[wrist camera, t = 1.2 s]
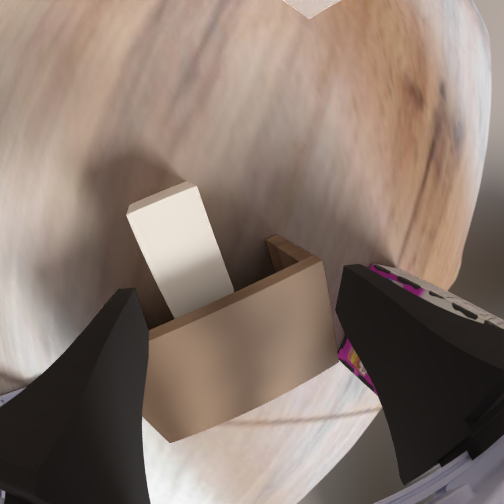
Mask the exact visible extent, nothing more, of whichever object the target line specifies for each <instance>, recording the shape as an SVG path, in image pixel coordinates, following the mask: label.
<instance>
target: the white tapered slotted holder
mask: <svg viewBox="0 0 504 504" xmlns="http://www.w3.org/2000/svg"><path fill="white" fill-rule="evenodd" d="M282 1H284V2H285V3H287V4H288V5H290V6H291V7H293V8H294V9H296V10H297V11H298V12H300V13H301V14H303V15H304V16H305V17H307V18H308V19H310V18H312V17H313V16H315V15H317V14H318V13H320V12H322V11H323V10H325V9H327V8H328V7H330V6H332V5H333V4H335V3H337V2H339V1H340V0H282Z"/></svg>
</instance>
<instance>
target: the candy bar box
mask: <svg viewBox="0 0 504 504" xmlns="http://www.w3.org/2000/svg"><path fill="white" fill-rule="evenodd" d="M370 270H372V271H374V272H376V273H378V274H380V275H381V276H383V277H385V278H387V279H388V280H390V281H392V282H394V283H396V284H397V285H399V286H401V287H403V288H404V289H406V290H408V291H410V292H412V293H413V294H415V295H417V296H419V297H421V298H423V299H425V300H427V301H429V302H431V303H432V304H435V305H437V306H439V307H441V308H443V309H446V310H448V311H450V312H452V313H455V314H457V315H460V316H462V317H465V318H468V319H471V320H474V321H477V322H480V323H483V324H486V325H490V326H494V327H498V328H502V329H504V320H502V319H500V318H498V317H496V316H494V315H492V314H490V313H489V312H487V311H485V310H483V309H481V308H479V307H477V306H475V305H473V304H471V303H469V302H467V301H465V300H463V299H461V298H459V297H458V296H456V295H454V294H452V293H450V292H448V291H446V290H444V289H441V288H439V287H437V286H435V285H433V284H431V283H429V282H427V281H425V280H423V279H421V278H419V277H417V276H414V275H412V274H410V273H408V272H406V271H403V270H401V269H399V268H394V267H388V266H383V265H378V264H371V266H370ZM338 360H340V361H341V362H342V363H343V364H344V365H345V366H346V367H347V368H348V369H349V370H350V371H351V372H353V373H354V374H355V375H356V376H357V377H358V378H359V379H360V380H361V381H362V382H363V383H364V384H365V385H367V386H368V387H369V388H370V389H371V390H372V391H373V392H374V393H375V394H376V395H377V392H376V389H375V387H374V385H373V383H372V381H371V379H370V377H369V375H368V373H367V372H366V370H365V368H364V366H363V364H362V363H361V361H360V359H359V357H358V356H357V354H356V352H355V350H354V349H353V347H352V345H351V343H350V342H349V340H348V338H347V336H345V338H344V341H343V343H342V346H341V348H340V351H339V353H338ZM377 396H378V395H377Z"/></svg>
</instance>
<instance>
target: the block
mask: <svg viewBox="0 0 504 504" xmlns="http://www.w3.org/2000/svg"><path fill="white" fill-rule="evenodd" d="M126 216H127V218H128V221H129V223H130V225H131V228H132V230H133V233H134V235H135V237H136V239H137V242H138V244H139V246H140V249H141V251H142V253H143V255H144V257H145V260H146V262H147V264H148V266H149V268H150V270H151V272H152V275H153V277H154V279H155V281H156V283H157V285H158V287H159V289H160V291H161V293H162V295H163V297H164V299H165V301H166V303H167V305H168V307H169V309H170V311H171V313H172V315H173V316H174V318H175V319H176V318H178V317H181V316H183V315H185V314H187V313H190V312H192V311H194V310H196V309H199V308H201V307H203V306H205V305H208V304H210V303H212V302H214V301H216V300H219V299H221V298H223V297H225V296H227V295H230V294H232V293H234V292H235V291H234V288H233V285H232V283H231V280H230V277H229V275H228V272H227V269H226V267H225V264H224V261H223V258H222V256H221V253H220V250H219V247H218V245H217V242H216V239H215V236H214V233H213V231H212V228H211V225H210V222H209V219H208V217H207V214H206V211H205V208H204V205H203V202H202V199H201V197H200V194H199V191H198V188H197V186H196V185H194V184H192V183H189V182H187V181H186V182H183V183H180V184H178V185H175V186H173V187H170V188H168V189H165V190H163V191H160V192H158V193H156V194H153V195H151V196H148V197H146V198H144V199H141V200H139V201H137V202H134V203H132V204H130V205H129V208H128V211H127V214H126Z"/></svg>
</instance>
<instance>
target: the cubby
mask: <svg viewBox="0 0 504 504" xmlns="http://www.w3.org/2000/svg"><path fill="white" fill-rule="evenodd" d="M265 240H266V244H267V247H268V250H269V254H270V257H271V261H272V264H273V268H274V271H275V274H273V275H270V276H268V277H266V278H264V279H262V280H260V281H258V282H256V283H253V284H251V285H249V286H247V287H245V288H243V289H240V290H238V291H236V292H234V293H232V294H230V295H227V296H225V297H223V298H221V299H219V300H216V301H214V302H212V303H210V304H208V305H205V306H203V307H201V308H199V309H196V310H194V311H192V312H190V313H187V314H185V315H183V316H181V317H178V318H176V319H174V320H172V321H169V322H167V323H165V324H162V325H160V326H158V327H155V328H153V329H151V330H148V331H149V359H148V367H147V375H146V383H145V391H144V400H143V410H142V416H143V417H144V418H145V419H146V420H147V421H148V422H149V423H150V424H151V425H152V426H153V427H154V428H155V429H156V430H157V431H158V432H159V433H160V434H161V435H162V436H163V437H164V438H165V439H166V440H167V441H168V442H169V443H172V442H175V441H178V440H181V439H183V438H186V437H189V436H191V435H194V434H197V433H199V432H202V431H205V430H207V429H210V428H212V427H214V426H217V425H219V424H222V423H224V422H226V421H229V420H231V419H233V418H235V417H238V416H240V415H242V414H244V413H246V412H249V411H251V410H253V409H255V408H257V407H259V406H261V405H263V404H265V403H267V402H269V401H271V400H273V399H275V398H277V397H279V396H281V395H283V394H285V393H286V392H288V391H290V390H292V389H294V388H296V387H298V386H299V385H301V384H303V383H305V382H306V381H308V380H310V379H312V378H313V377H315V376H317V375H318V374H320V373H322V372H323V371H325V370H327V369H328V368H330V367H332V366H333V365H335V364H337V363H338V362H339V360H338V353H337V345H336V338H335V331H334V324H333V318H332V311H331V305H330V299H329V293H328V287H327V282H326V276H325V271H324V265H323V260H321V259H320V258H318V257H316V256H314V255H313V254H311V253H309V252H307V251H306V250H304V249H302V248H300V247H298V246H297V245H295V244H293V243H291V242H290V241H288V240H286V239H284V238H283V237H281V236H279V235H275V236H272V237H270V238H268V239H265Z"/></svg>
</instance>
